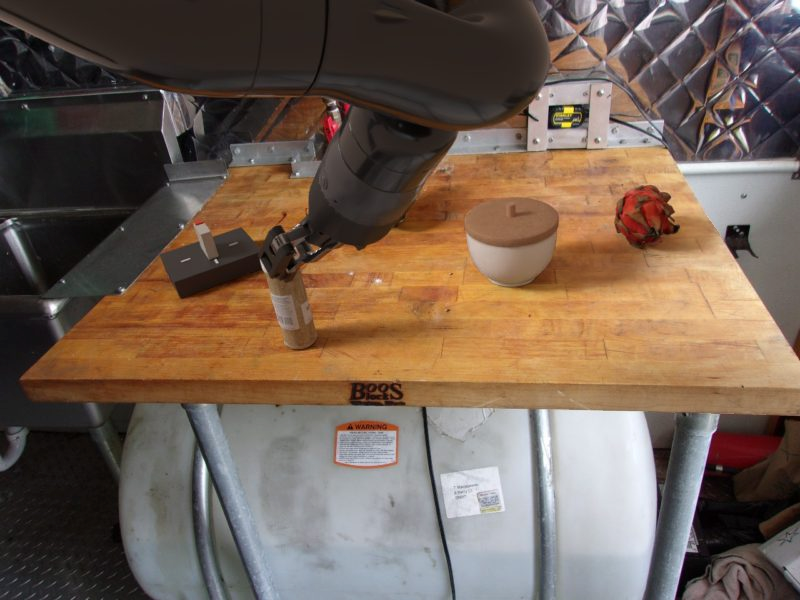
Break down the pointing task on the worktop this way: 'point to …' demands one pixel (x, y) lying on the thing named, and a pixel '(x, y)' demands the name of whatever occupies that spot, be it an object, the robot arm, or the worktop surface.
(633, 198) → the dragon fruit
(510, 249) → the lidded bowl
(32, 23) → the robot arm
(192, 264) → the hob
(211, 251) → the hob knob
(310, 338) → the sprinkles bottle
